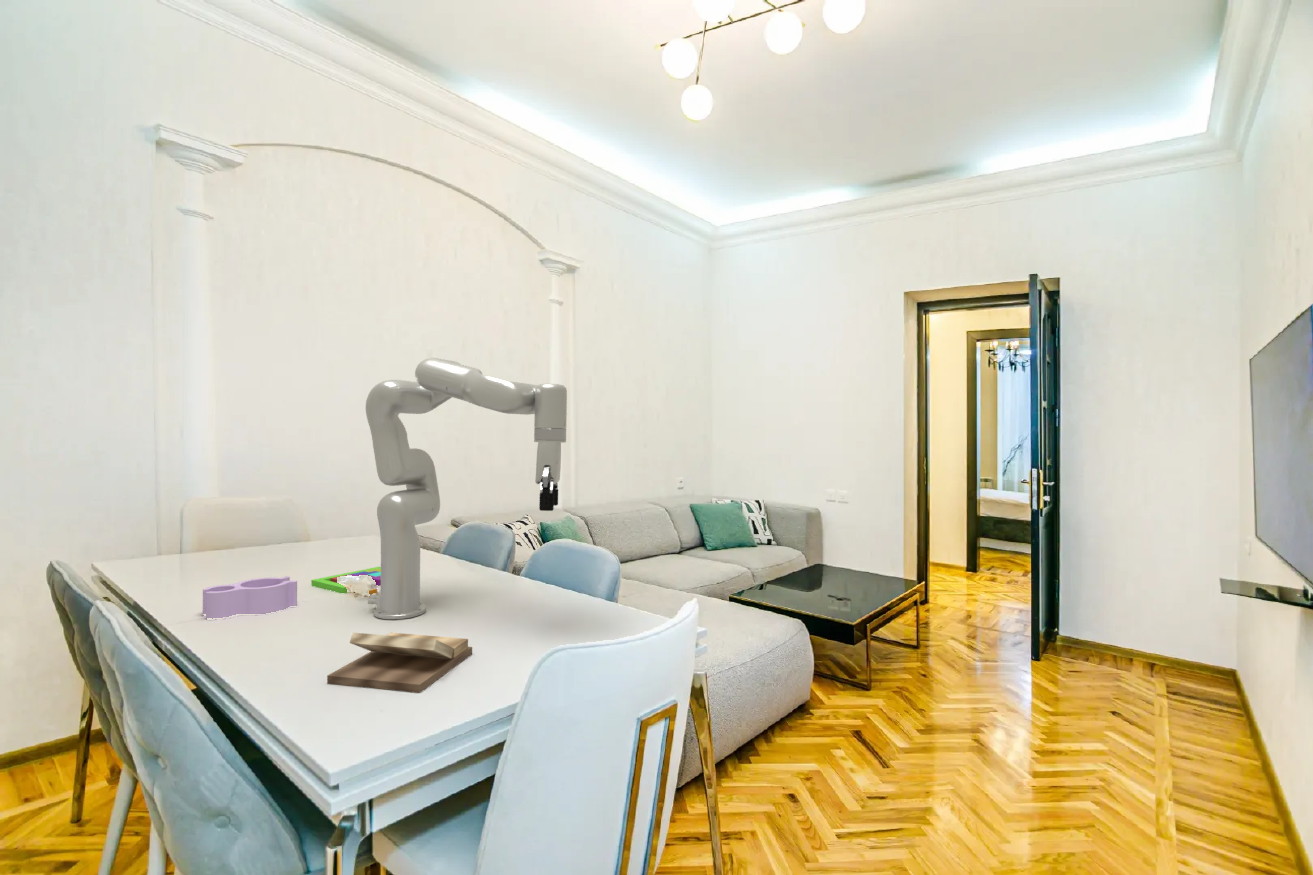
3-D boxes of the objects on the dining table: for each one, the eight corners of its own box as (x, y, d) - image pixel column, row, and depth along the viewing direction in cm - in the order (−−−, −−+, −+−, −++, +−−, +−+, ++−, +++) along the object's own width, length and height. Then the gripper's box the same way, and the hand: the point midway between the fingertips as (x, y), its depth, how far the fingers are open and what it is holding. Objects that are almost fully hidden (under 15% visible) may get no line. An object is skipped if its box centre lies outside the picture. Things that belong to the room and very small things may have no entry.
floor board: (327, 683, 124) (327, 665, 124) (391, 646, 144) (391, 631, 144) (419, 692, 120) (419, 673, 120) (472, 653, 141) (472, 637, 141)
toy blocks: (311, 587, 196) (362, 600, 183) (311, 579, 196) (362, 592, 183) (379, 573, 215) (429, 584, 202) (379, 566, 215) (429, 577, 202)
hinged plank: (349, 642, 129) (352, 632, 130) (370, 651, 136) (373, 641, 137) (433, 650, 126) (436, 639, 127) (451, 658, 133) (453, 648, 134)
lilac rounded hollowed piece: (210, 624, 158) (210, 596, 158) (199, 613, 167) (199, 586, 167) (300, 609, 172) (300, 582, 172) (285, 599, 181) (286, 574, 181)
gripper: (539, 435, 165) (538, 503, 165) (528, 436, 147) (527, 512, 148) (569, 435, 165) (568, 503, 165) (562, 437, 148) (561, 513, 148)
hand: (549, 507), depth 157 cm, fingers open, 9 cm apart
